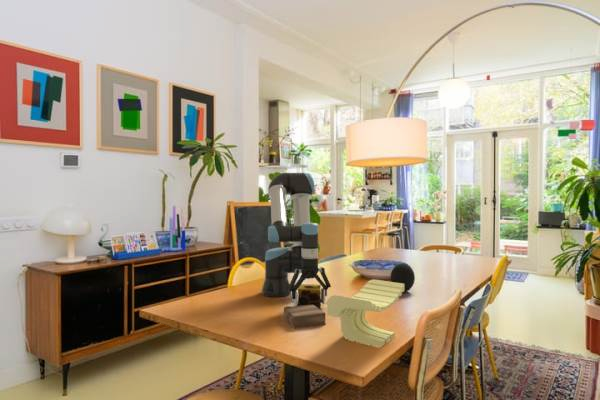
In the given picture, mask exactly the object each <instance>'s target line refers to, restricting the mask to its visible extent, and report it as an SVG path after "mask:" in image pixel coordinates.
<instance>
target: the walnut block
mask: <svg viewBox="0 0 600 400" xmlns="http://www.w3.org/2000/svg"><path fill="white" fill-rule="evenodd" d="M283 319H284V320H285V321H286V322H287V323H288V324H289V325H290V326H291V327H292V328H293V329H301V328H308V327H309V328H310V327H317V326H325V325H326V312H324V311H323V310H321V309H319V308H317V307H316V306H315V305H313V304H311V305H301V306H294V305H292V306H284V307H283Z"/></svg>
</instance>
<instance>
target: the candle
mask: <svg viewBox="0 0 600 400" xmlns="http://www.w3.org/2000/svg"><path fill="white" fill-rule="evenodd" d="M321 287H322V286H321V285H320V284H307V283H305V284H303V283H302V284H301V285H300V286H299V288H298V289H297V292H298V296H297V306H301V305H311V304H313V305H315V306H316V307H317V308H319V309H320V310H321V309H322V307H321V306H322V303H321Z"/></svg>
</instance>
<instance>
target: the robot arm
mask: <svg viewBox="0 0 600 400" xmlns="http://www.w3.org/2000/svg"><path fill="white" fill-rule="evenodd" d="M314 181H315V180H314V177H313V175H312V174H311V173H309V172H282V173H278V174H277V175H276V176H274V177H273V179H271V181H270V183H269V185H268V188H267V191H268V192H267V193H268V196H269V197H270V214H271V219H270V220H271V225H269V226H268V228H267V240H268V242H269V243H290V242H291V243H293V245H292V246H291V250H289V249H288V247H286V246H285V247H282V246H281V247H280V246H279V247H275V248H270V249H268V250H267V251H265V258H264V263H265V269H264V271H265V272H264V273H265V275H264V276H265V279H264V281H263V285H262V288H261V295H262V296H264V297H271V298H279V297H280V298H281V297H287V296H290V295H291V299H292V300H293V306H297V304H298V288H299V286H300V285H301V284H303V282H304V281H306V279H308V280H309V279H315V280H316V281H317V282H318V283H319V285H320V286H321V287H322V288H321V287H320V292H321V304H322V305H325V304H326V297H328V290H329V288H331V287H332V286H331V285H332V284H331V283H330V280H329V279H328V276H327V274H326V272H325V267H322V266H320V267H319V258H318V257H319V231H320V230H319V224H318V223H316V222H311V216H310V214H311V213H310V199H311V198H312V197H313V196H312V195H314V194H315V190H316V189H315V182H314ZM286 195H289V196H290V198H291V200H292V202H293V203H292V204H293V225H288V218H287V217H288V216H287V207H286V206H287V205H286ZM318 273H320V275H321V278H320V276H319V275H318ZM289 274H293V276H292V277H291V280H290V281H289V278H288V277H289ZM300 274H301V275H300ZM298 277H299V278H298Z"/></svg>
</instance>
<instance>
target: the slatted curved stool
mask: <svg viewBox="0 0 600 400" xmlns="http://www.w3.org/2000/svg"><path fill="white" fill-rule="evenodd" d="M403 293H405V292H404V284H403V283H396V282H391V281H386V280H381V279H373V278H372V279H370V280H369V281H366V282H365V284H364V285H363V286H362V287H361V289H360V290H358V292H357V293H356V294H354V295H353V296H351V297H349V296H342V295H337V294H333V295H331V296H330V297H329V298H328V299H327V303H326V316H329V317H333V318H336V319H337V318H338V319H340V329H341V330H340V331H341V333H342V336H343V337H344V339H346V340H347V339H348V340H347V341H350V340H352V341H351V342H354V341H356V342H355V343H358V342H360V343H359V344H362V343H364V344H363V345H366V344H369V345H368V346H370V345H373V346H372V347H374V346H377V347H376V348H378V347H381V348H382V346H383V345H384V344H385V343H387V342H388V343H389V342H391V340H390V339H392V340H394V338H396V334H395V332H394V331H390V330H386V329H382V328H380V327H377V326H373V325H372V324H371V323H369V322H368V321H367V319H366V313H367V312H368V311H369V312H370V311H371V312H378V313H382V312H384V311H386V310H387V309H389V308H391V307H392V306H394V305H395V304H396V303H397V301H399V299H400V297H402V294H403ZM388 343H387V344H388ZM385 345H386V344H385ZM385 345H384V346H385ZM384 346H383V347H384Z"/></svg>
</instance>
